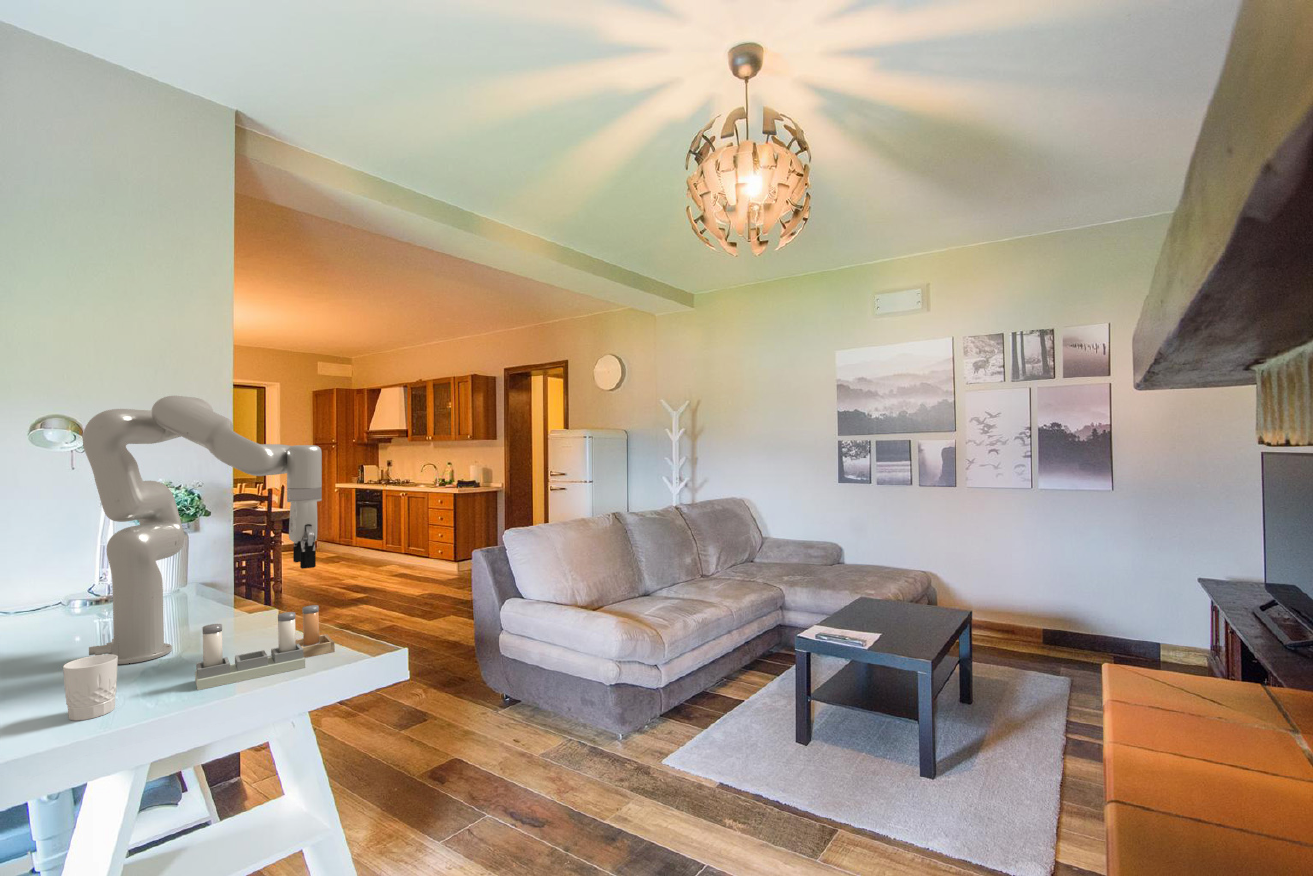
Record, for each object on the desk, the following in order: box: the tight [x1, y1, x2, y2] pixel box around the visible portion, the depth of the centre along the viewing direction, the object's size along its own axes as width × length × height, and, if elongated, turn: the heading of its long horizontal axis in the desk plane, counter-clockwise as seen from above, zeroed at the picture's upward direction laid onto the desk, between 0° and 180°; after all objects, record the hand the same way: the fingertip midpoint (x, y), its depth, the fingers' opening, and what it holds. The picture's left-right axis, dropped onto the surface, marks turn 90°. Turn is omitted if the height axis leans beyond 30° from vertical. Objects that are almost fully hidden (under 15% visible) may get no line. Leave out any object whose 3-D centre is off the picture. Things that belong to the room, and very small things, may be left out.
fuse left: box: [201, 623, 224, 668], centre depth 139 cm, size 4×4×10 cm
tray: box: [296, 633, 335, 659], centre depth 158 cm, size 8×8×2 cm
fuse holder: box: [194, 644, 306, 691], centre depth 143 cm, size 20×7×4 cm, turn 128°
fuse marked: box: [301, 604, 320, 647], centre depth 158 cm, size 4×4×10 cm
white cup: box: [62, 654, 119, 721], centre depth 124 cm, size 8×8×10 cm
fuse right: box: [277, 611, 297, 653], centre depth 148 cm, size 4×4×10 cm
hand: (304, 564), depth 159 cm, fingers open, 9 cm apart
